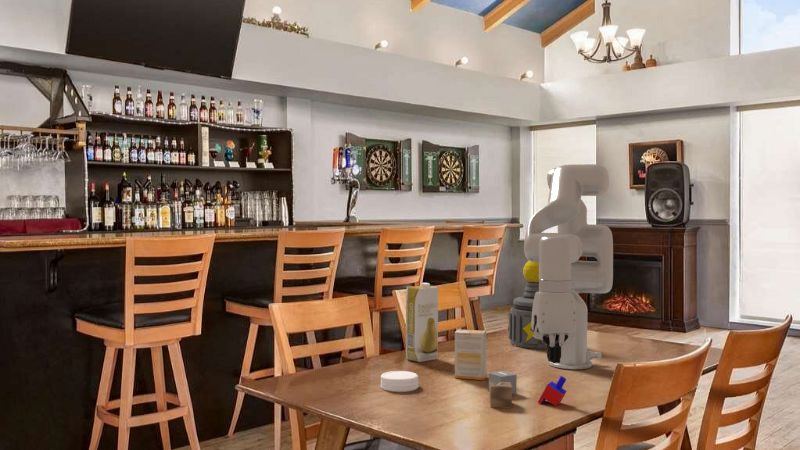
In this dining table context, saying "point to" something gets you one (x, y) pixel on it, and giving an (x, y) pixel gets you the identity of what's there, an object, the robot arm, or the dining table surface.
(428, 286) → the juice carton
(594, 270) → the robot arm
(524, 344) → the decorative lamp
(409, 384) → the white short cylinder
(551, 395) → the toy building block
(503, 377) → the numeral one cube
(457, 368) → the supplement box
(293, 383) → the dining table surface
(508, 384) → the numeral seven cube
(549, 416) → the dining table surface
